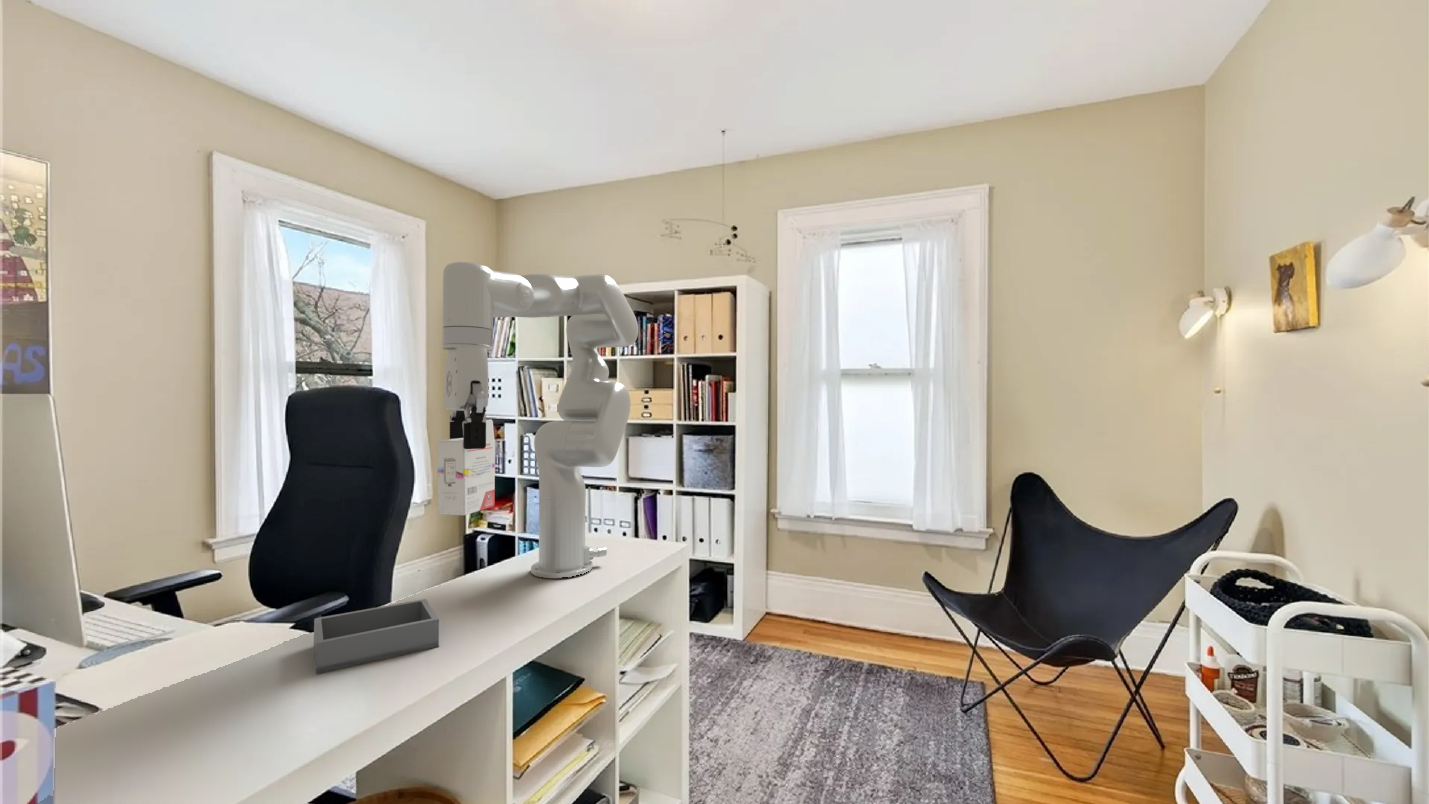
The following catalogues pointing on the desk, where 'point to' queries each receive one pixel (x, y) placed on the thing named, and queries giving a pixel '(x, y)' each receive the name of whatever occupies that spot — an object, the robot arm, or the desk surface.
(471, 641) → the desk surface
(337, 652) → the box
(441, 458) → the ink cartridge box
